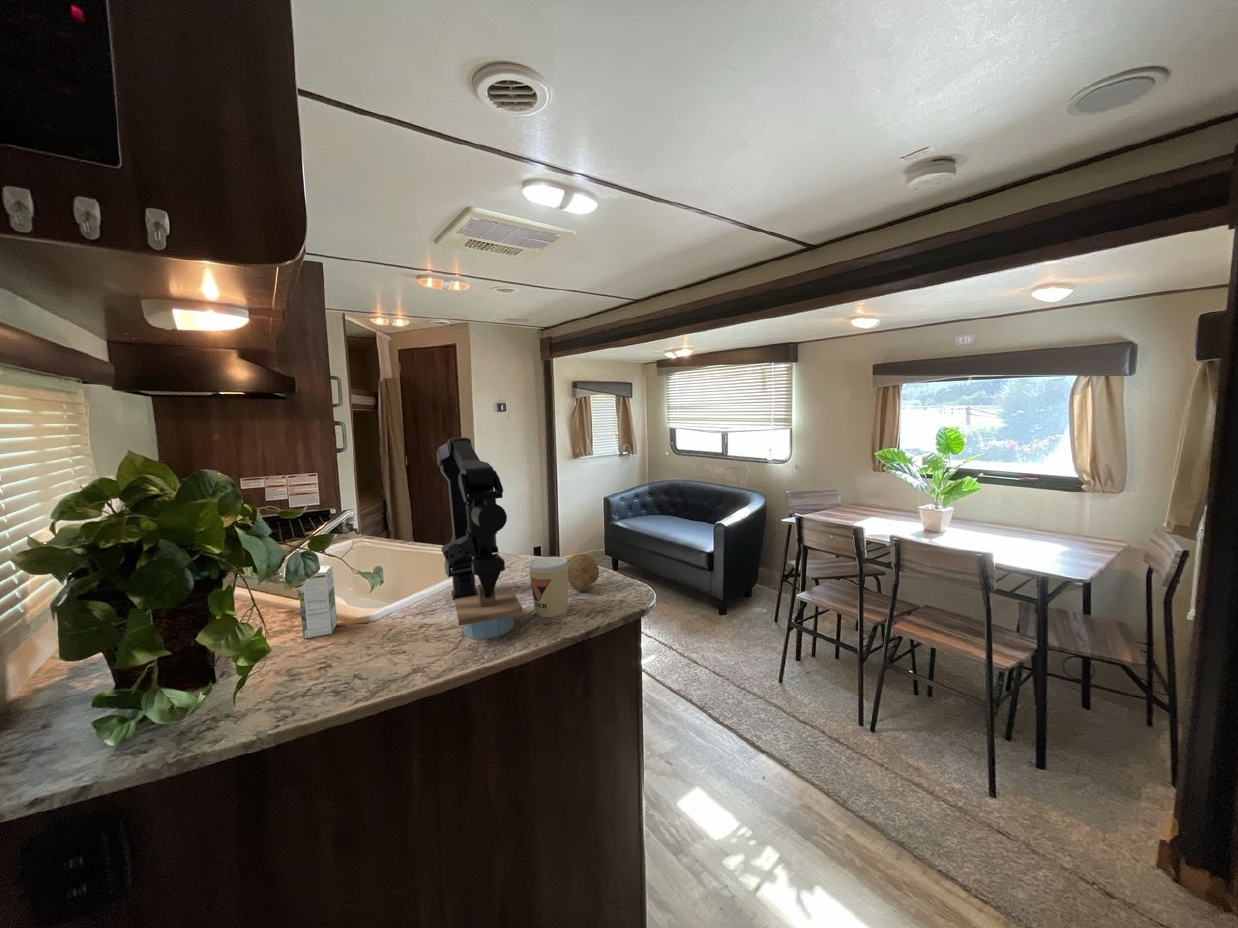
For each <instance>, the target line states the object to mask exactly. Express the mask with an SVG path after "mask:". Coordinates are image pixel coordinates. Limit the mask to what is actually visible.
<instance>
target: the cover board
mask: <svg viewBox="0 0 1238 928" xmlns="http://www.w3.org/2000/svg"><path fill="white" fill-rule="evenodd" d="M495 588H496V586H495V587H494V590H493V593H492V596H491V597H490V598H486V597H485V594H484V590H483V586H482V584H481V583H480V584H478V585H477V590H478V594H479V595H475V596H470V597H464V598H458V599H455V600H454V606H455V611H456V616H457V617H456V618H457V621H458V627H460V626H464V625H466V624H471V623H476V622H482V621H487V620H492V619H497V618H502V617H507V616H512V615H513V616H515V615H516V616H517V615H522V614H523V613H524V610H523V609H524V608H523V607H522V605H521V603H520V600H519V599H518V598H517V595H516V594H515V592H514V590H513V589H512V588H510V589H506V590H505V589H504V590H499V591H495Z"/></svg>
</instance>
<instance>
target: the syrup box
mask: <svg viewBox="0 0 1238 928" xmlns="http://www.w3.org/2000/svg"><path fill="white" fill-rule="evenodd" d="M319 566H320V570H319V572H318V573H317V574H316V575H314V576H313V577H312V578H310V579H309V580H308V581H307V582H306V583H305V584H304V585H303V586H301V587H298V597H299V606H300V607H299V608H300V609H299V610H300V618H301V619H300V620H301V629H302V632H301V633H302V639H311V638H317V637H323V636H327V635H333V633H334V631H335V628H336V627H337V625H338V617H337V606H336V595H335V583H334V576H333V575H334V572H333V565H319Z"/></svg>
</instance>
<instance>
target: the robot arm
mask: <svg viewBox="0 0 1238 928" xmlns="http://www.w3.org/2000/svg"><path fill="white" fill-rule="evenodd" d="M436 463H437V466H438V467H439V470H440V473H441V475H443V477H444V478H445V479H446V481H447V486H448V487H447V488H448V497H449V509H450V518H451V519H450V520H451V529H452V530H451V531H452V537H451V539H450V541H449V543H446V544H445V545H443V546H441V547H440V549H441V552H442V554H443V556H444V558H445V560H444V571H445V574H446V576H447V577H448V578H452V588H453V590H452V591H451V597H452V600H453V601H455V599H458V598H464V597H470V596H475V595H479V594H478V587H477V586H476V576H477V577H478V580H479V582H480V585H481V584H482V586H483V590H484V594H485V597H486V598H490V597H491V596H492V593H493V590H494V587H495V588H496V585H497V581H498V579H499V576H500V574H501V572H503V571H506V565H505V563H506V562H505V560H504V558H503V556H502V555H500V554H499V547H498V545H497V534H498V532H499V531H501V530H503V528H504V527H505V525H506V523H507V520H508V516H507V515H508V514H507V513H506V510H505V509H504V508H503V507H502V506H501V505H499V504H497V499H502V498H503V492H504V488H503V485H502V483H501V478H500V477H499V474H497V473H498V472H497V471H496V470H495V469H494V467H493V466H492V465H491V464H490V463H489V462H485V461H483V460H482V461H481V459H480V458H479V456H478V455H477V453H476V451H475V449H474V448H473V445H472V440H471V438H467V437H465V436H464V437H451V438H449V439H447V442H446V443H444V444H443V445H440V446H439V447H438V449H437V451H436Z"/></svg>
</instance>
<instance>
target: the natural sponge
mask: <svg viewBox="0 0 1238 928" xmlns="http://www.w3.org/2000/svg"><path fill="white" fill-rule="evenodd" d="M567 562H568V564H569V565H568V585H570V586H571V587H572V588H573V589H574V590H575V591H577V592H580V593H583V592H584V591H586V590H587V589H588V588H589V587H590V586H591V585H592V584H594V583H595V582H596V581H597V580H598V579H599V576H600V569H599V566H598V564H597V562H596V560H595V559H594V558H593V557H591V556H590V555H588V554H585V553H577V554H575V555H573V556H571V557H570V558H569V559H568V560H567Z"/></svg>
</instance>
